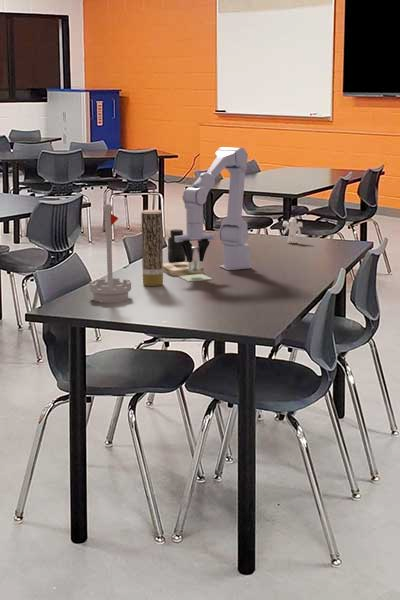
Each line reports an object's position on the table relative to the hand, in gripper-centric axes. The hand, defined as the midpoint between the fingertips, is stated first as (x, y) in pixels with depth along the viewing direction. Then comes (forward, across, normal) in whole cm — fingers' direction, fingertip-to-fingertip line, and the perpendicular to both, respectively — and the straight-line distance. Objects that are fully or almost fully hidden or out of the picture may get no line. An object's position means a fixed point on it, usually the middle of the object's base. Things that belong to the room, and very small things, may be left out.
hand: (195, 261), depth 311 cm
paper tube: (+6, +17, +4) cm, 19 cm away
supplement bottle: (+6, -7, -34) cm, 35 cm away
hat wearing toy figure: (+6, -67, -52) cm, 85 cm away
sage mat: (+6, 0, 0) cm, 6 cm away
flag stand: (+6, +36, +17) cm, 41 cm away
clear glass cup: (+3, 0, 0) cm, 3 cm away
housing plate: (+6, 0, -14) cm, 15 cm away
